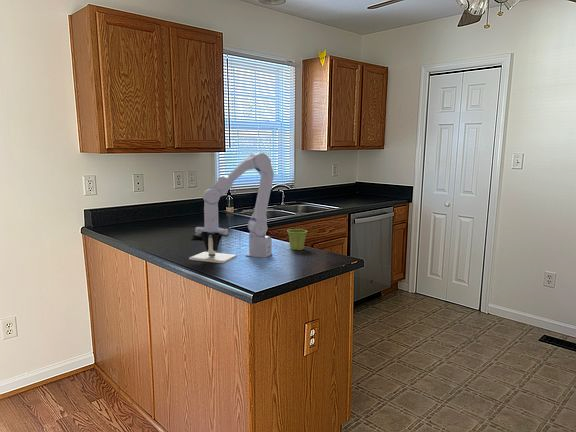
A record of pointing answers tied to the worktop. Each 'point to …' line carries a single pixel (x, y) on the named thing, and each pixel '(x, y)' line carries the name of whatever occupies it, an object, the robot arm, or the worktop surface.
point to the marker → (210, 246)
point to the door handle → (198, 236)
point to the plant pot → (297, 238)
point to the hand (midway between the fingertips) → (211, 250)
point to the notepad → (217, 258)
